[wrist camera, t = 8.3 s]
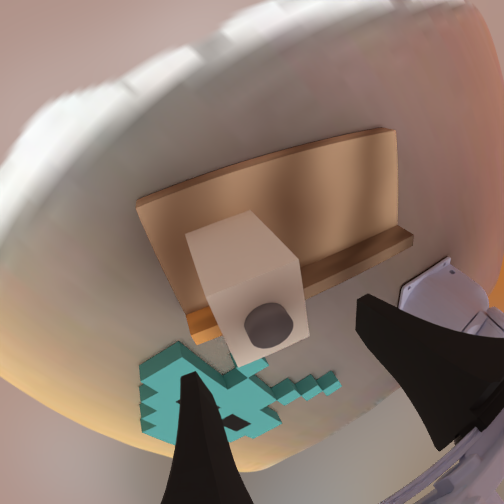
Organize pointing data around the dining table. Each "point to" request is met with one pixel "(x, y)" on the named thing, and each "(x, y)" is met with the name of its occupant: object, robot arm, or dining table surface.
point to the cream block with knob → (250, 286)
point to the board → (287, 214)
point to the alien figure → (218, 394)
